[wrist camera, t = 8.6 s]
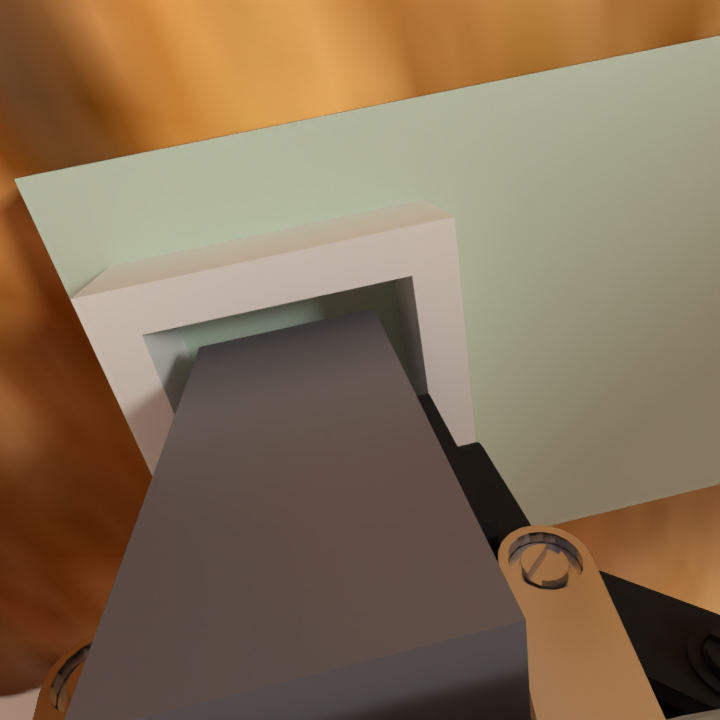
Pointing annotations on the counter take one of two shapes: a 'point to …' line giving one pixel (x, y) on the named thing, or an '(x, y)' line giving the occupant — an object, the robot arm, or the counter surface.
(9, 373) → the counter surface
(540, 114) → the board
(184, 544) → the plug
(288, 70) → the counter surface
